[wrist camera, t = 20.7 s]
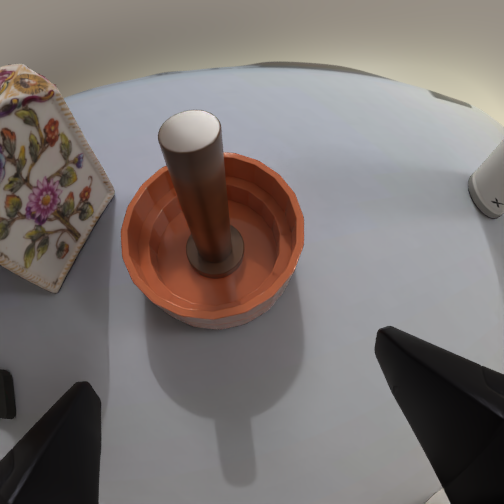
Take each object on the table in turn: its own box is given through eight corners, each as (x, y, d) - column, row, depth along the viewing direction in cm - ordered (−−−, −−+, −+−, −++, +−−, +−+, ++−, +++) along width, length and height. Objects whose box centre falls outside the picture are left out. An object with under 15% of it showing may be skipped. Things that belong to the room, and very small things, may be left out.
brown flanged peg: (248, 230, 24) (251, 100, 12) (239, 283, 22) (232, 177, 10) (194, 223, 24) (157, 96, 12) (182, 273, 22) (120, 168, 10)
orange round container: (320, 278, 23) (340, 253, 18) (187, 358, 21) (169, 355, 16) (242, 172, 27) (242, 130, 22) (125, 233, 24) (100, 201, 19)
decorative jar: (58, 299, 22) (-100, 198, 5) (-1, 250, 23) (-108, 161, 7) (121, 189, 26) (40, 29, 9) (53, 163, 28) (-20, 49, 11)
